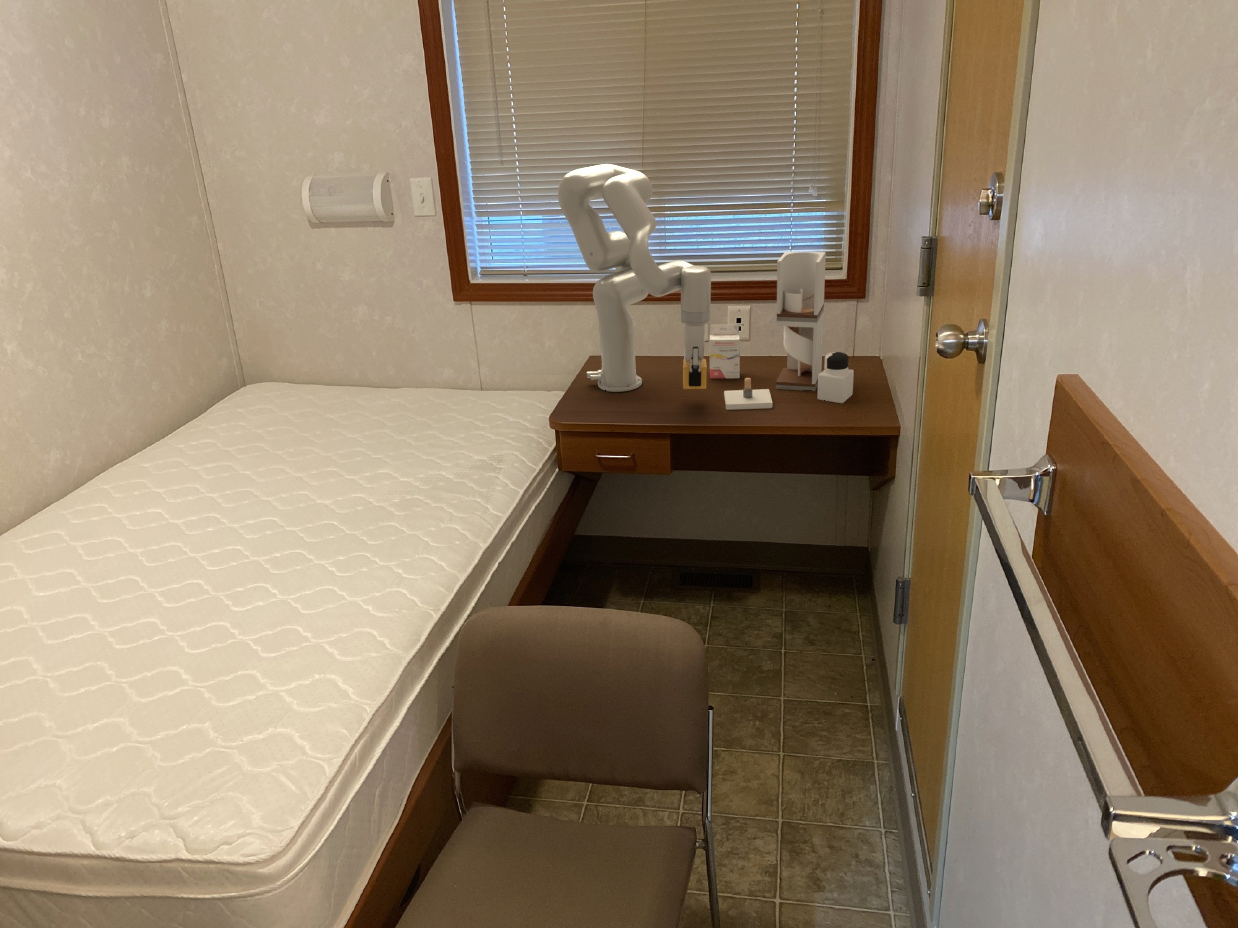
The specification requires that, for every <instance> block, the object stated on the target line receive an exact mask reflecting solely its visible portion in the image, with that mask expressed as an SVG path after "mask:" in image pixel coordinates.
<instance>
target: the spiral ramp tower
mask: <svg viewBox="0 0 1238 928" xmlns="http://www.w3.org/2000/svg"><path fill="white" fill-rule="evenodd" d="M826 253H827V252H826V251H784V253H783V254H782V255H781V256H780V258H778V260H777V263H776V264H777V265H776V267H777V268H776V273H777V274H776V280H777V281H776V327H783V348H784V350H785V351H786V352H787V356H786V358H787V359H786V360H787V361H786V362H787V363H786V367H783V368H782V370H781V371H780V373H779V376H778V377H777V379H776V381H775V389H776V390H791V391H792V390H793V391H803V390H812V391H811V392H816V390H817V389H818V375H819V374H820V373H821V372H822V371H823V370H822V368H823V367H822V365H823V342H824V339H823V338H824V337H823V336H824V313H825V312H824V311H825V310H824V309H825V308H824V307H825V283H826V282H825V280H826V255H827V254H826Z"/></svg>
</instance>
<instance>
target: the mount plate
mask: <svg viewBox="0 0 1238 928" xmlns="http://www.w3.org/2000/svg"><path fill="white" fill-rule="evenodd" d="M723 391H724V392H723V396H724V397H723V398H724V404H725V410H726V411H728V410H729V411H730V410H731V411H733V410H734V411H735V410H755V409H756V410H757V409H772V408H773V400H772V395H771V392H770V389H769V388H766V389H765V388H762V389H761V388H760V389H753V388H752V378H751V377H745V378H744V388H743V389H739V390H736V389H735V390H723Z"/></svg>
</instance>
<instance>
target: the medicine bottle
mask: <svg viewBox="0 0 1238 928" xmlns="http://www.w3.org/2000/svg"><path fill="white" fill-rule="evenodd" d="M823 366H824V369H823V370H822V372H821V373H820V374H819V375H818V386H817V398H816V399H817V400H820V401H824V400H825V401H824V402H830V403H836V404H844V403H845V402H846V401H847V400H848V399H850V398H851V397H852V395H853V392H854V391H853V390H854V373H855V372H854V369H851V368H849V355H848V354H846V353H844V352H842V351H832V352H831V351H830V352H829V353H826V354H825V356H824V365H823Z"/></svg>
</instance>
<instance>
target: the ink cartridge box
mask: <svg viewBox="0 0 1238 928" xmlns="http://www.w3.org/2000/svg"><path fill="white" fill-rule="evenodd" d="M709 326H710V327H709V329H710V334H709V379H740V376H741V374H740V372H741V370H740V368H741V364H740V363H741V362H740V361H741V358H740V357H741V353H740V352H741V350H740V348H741V342H740V341H741V340H740V339H741V337H740V333H739V331H740V330H739V329H740V326H739V323H726V324H723V323H722V324H720V323H719V324H710V325H709ZM723 328H725V329H723ZM721 329H723V330H721ZM726 329H727V330H726ZM728 329H729V330H728Z"/></svg>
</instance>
